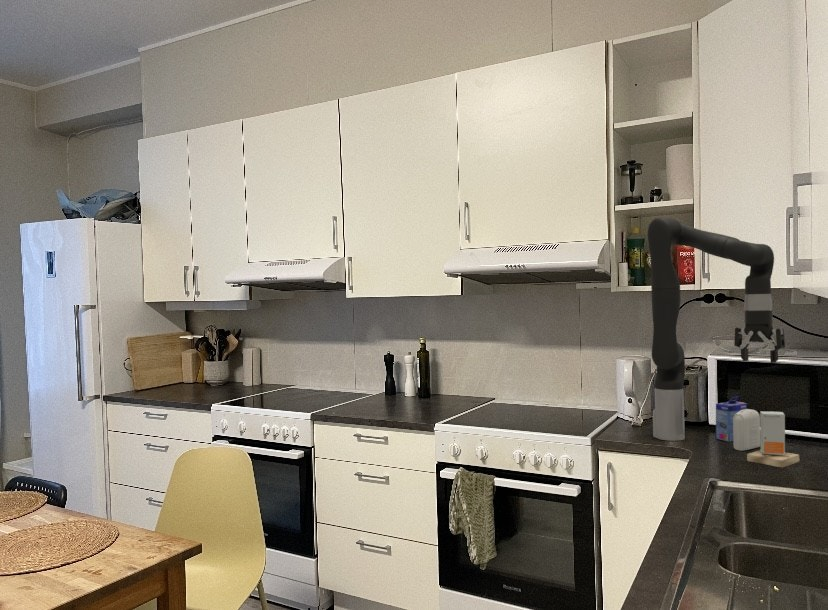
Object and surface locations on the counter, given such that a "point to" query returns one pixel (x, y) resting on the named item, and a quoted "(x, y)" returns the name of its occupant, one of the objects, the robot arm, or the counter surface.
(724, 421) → the ink cartridge box
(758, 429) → the white rounded block
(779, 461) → the trivet
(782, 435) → the skincare box
